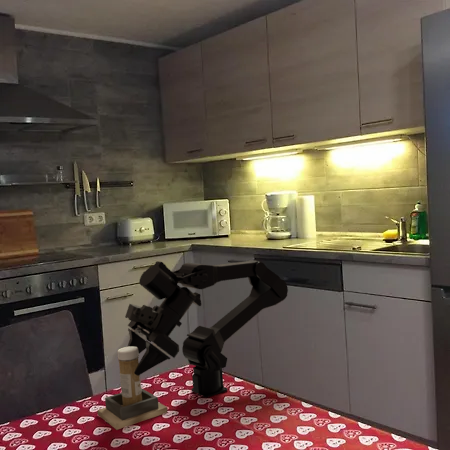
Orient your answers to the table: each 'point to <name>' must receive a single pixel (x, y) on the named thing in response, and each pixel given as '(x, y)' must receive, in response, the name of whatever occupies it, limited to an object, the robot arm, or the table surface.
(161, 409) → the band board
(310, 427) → the table surface
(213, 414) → the table surface
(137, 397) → the sprinkles bottle
